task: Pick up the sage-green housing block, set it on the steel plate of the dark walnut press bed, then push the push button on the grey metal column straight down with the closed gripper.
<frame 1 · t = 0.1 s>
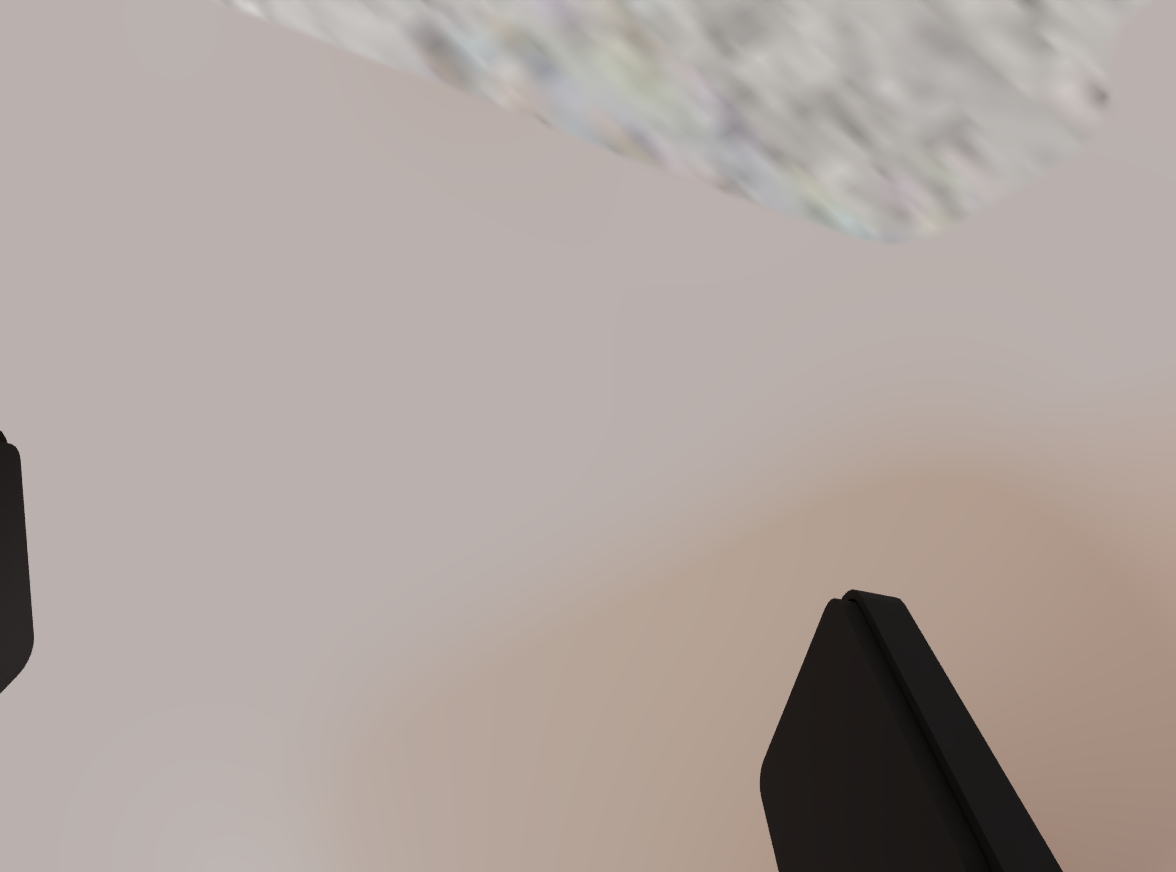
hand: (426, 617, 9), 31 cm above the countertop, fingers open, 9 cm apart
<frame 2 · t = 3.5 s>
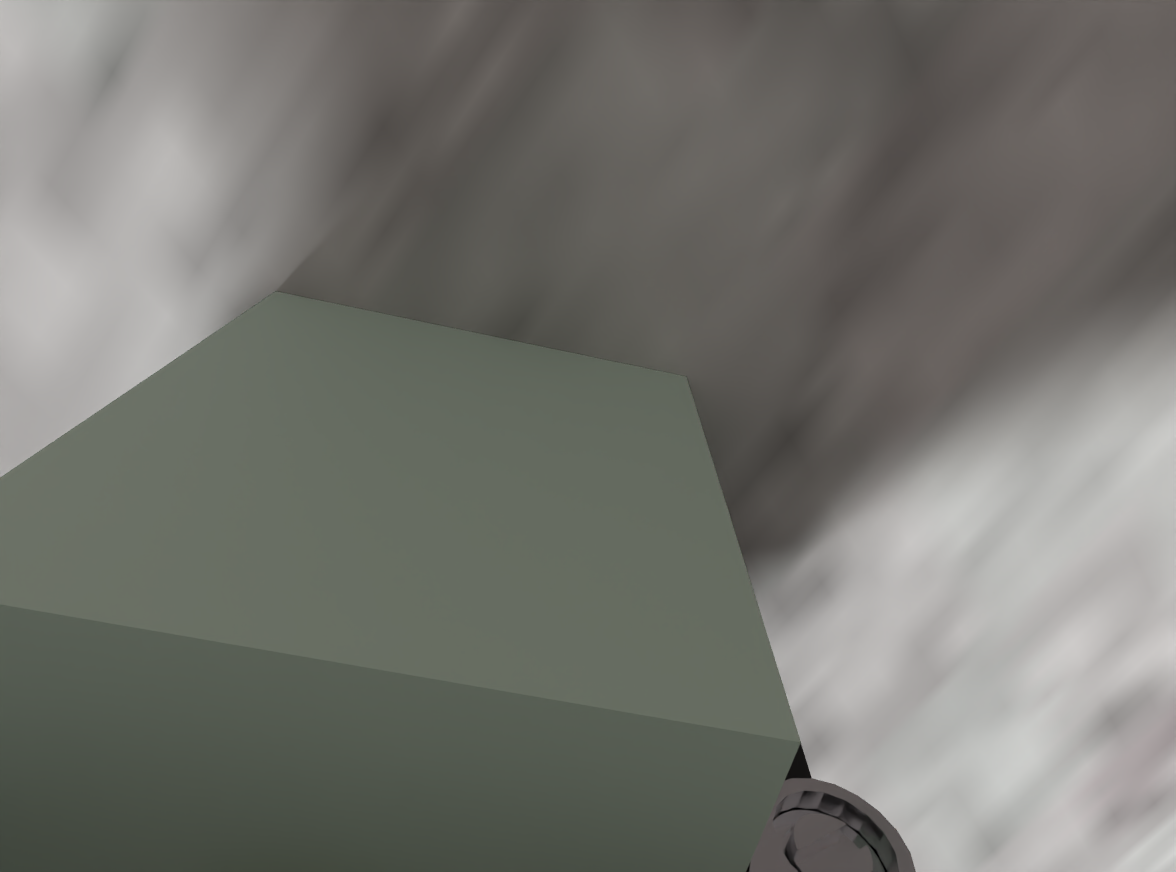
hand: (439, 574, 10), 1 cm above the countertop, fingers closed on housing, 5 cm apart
housing: (449, 544, 11), on the countertop, touching gripper
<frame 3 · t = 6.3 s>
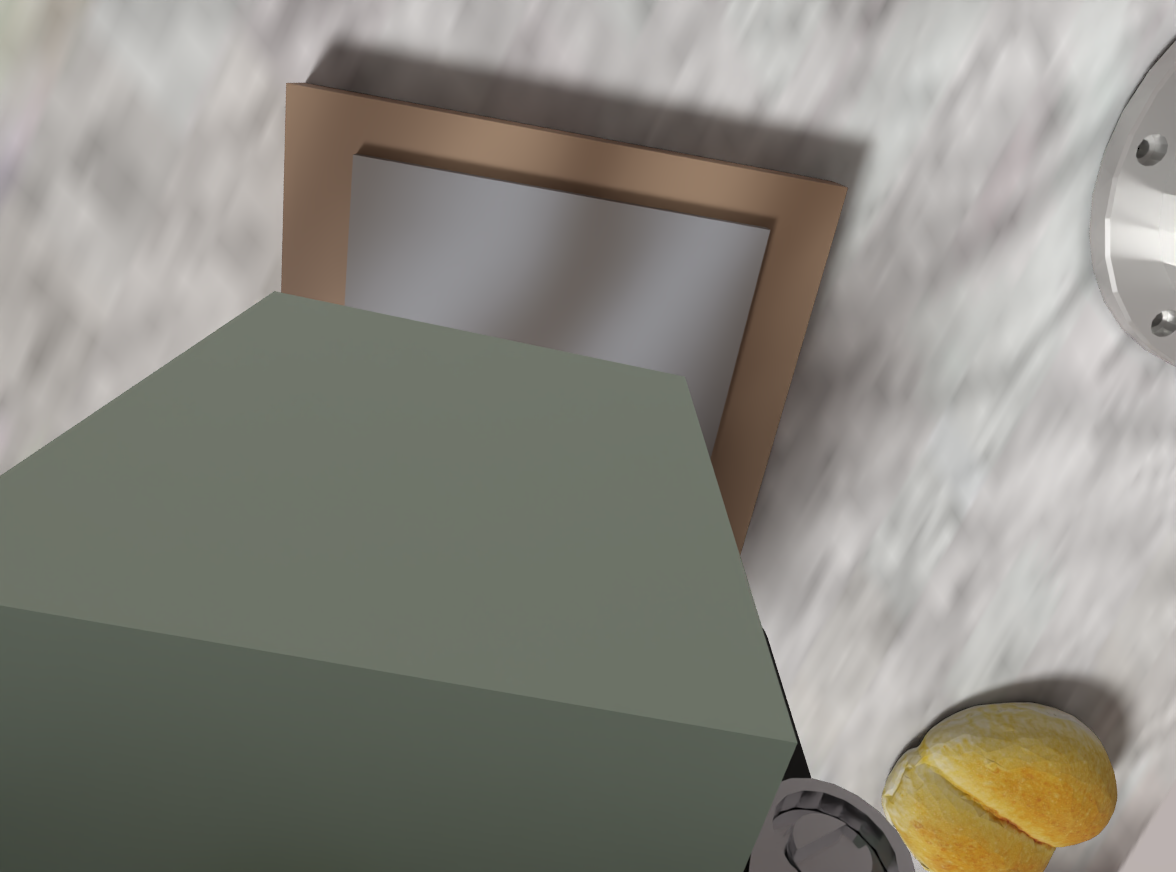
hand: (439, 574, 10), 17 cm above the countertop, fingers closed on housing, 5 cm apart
housing: (448, 544, 11), point 16 cm above the countertop, touching gripper
press bed: (542, 339, 27), on the countertop
bread roll: (979, 769, 35), on the countertop
when the fingers open (4 cm above the countertop, at t = 9.5 s): housing drops 1 cm, resting on press bed.
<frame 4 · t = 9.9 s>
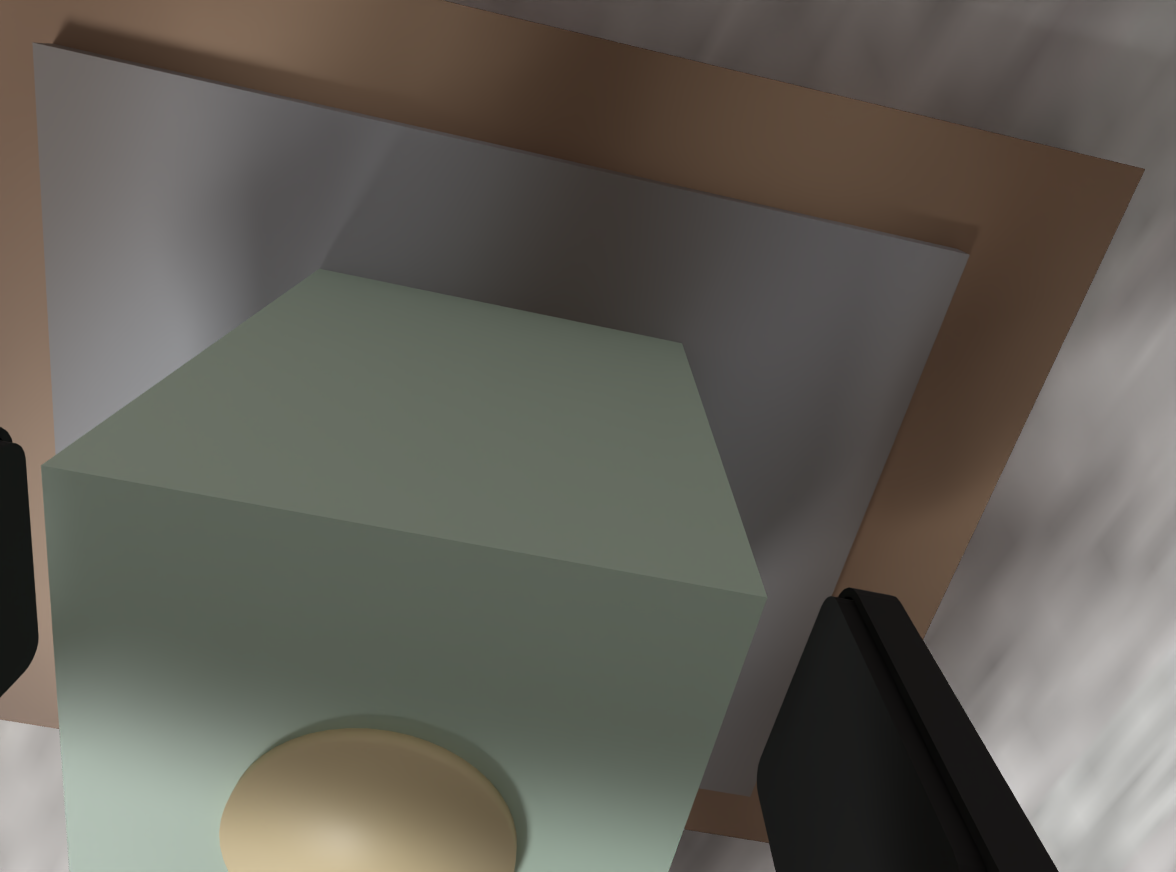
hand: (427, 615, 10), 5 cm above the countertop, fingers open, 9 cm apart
housing: (471, 497, 12), point 2 cm above the countertop, touching press bed
press bed: (480, 441, 14), on the countertop
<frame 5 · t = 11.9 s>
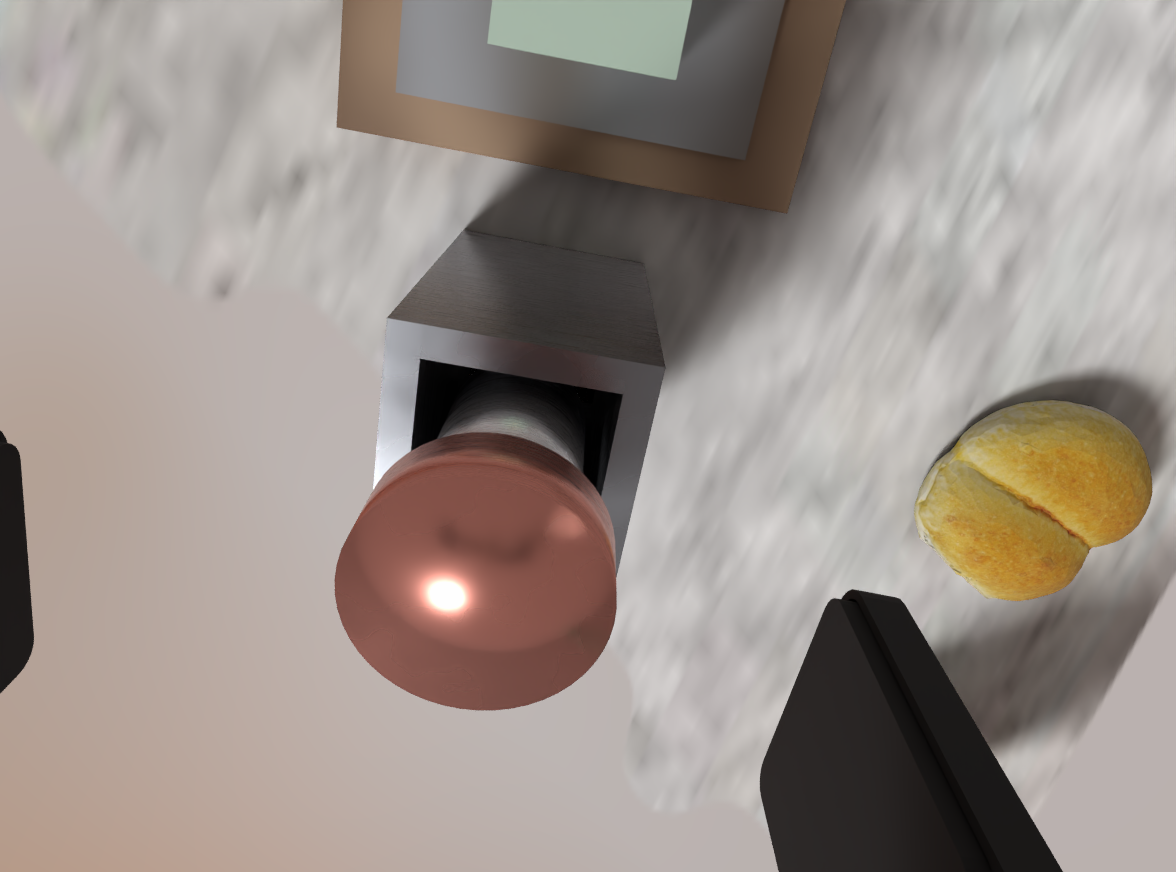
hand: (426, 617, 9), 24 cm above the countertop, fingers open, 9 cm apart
push button: (501, 493, 20), point 14 cm above the countertop, slide at 0.0 cm
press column: (540, 333, 33), on the countertop
bread roll: (1012, 487, 36), on the countertop
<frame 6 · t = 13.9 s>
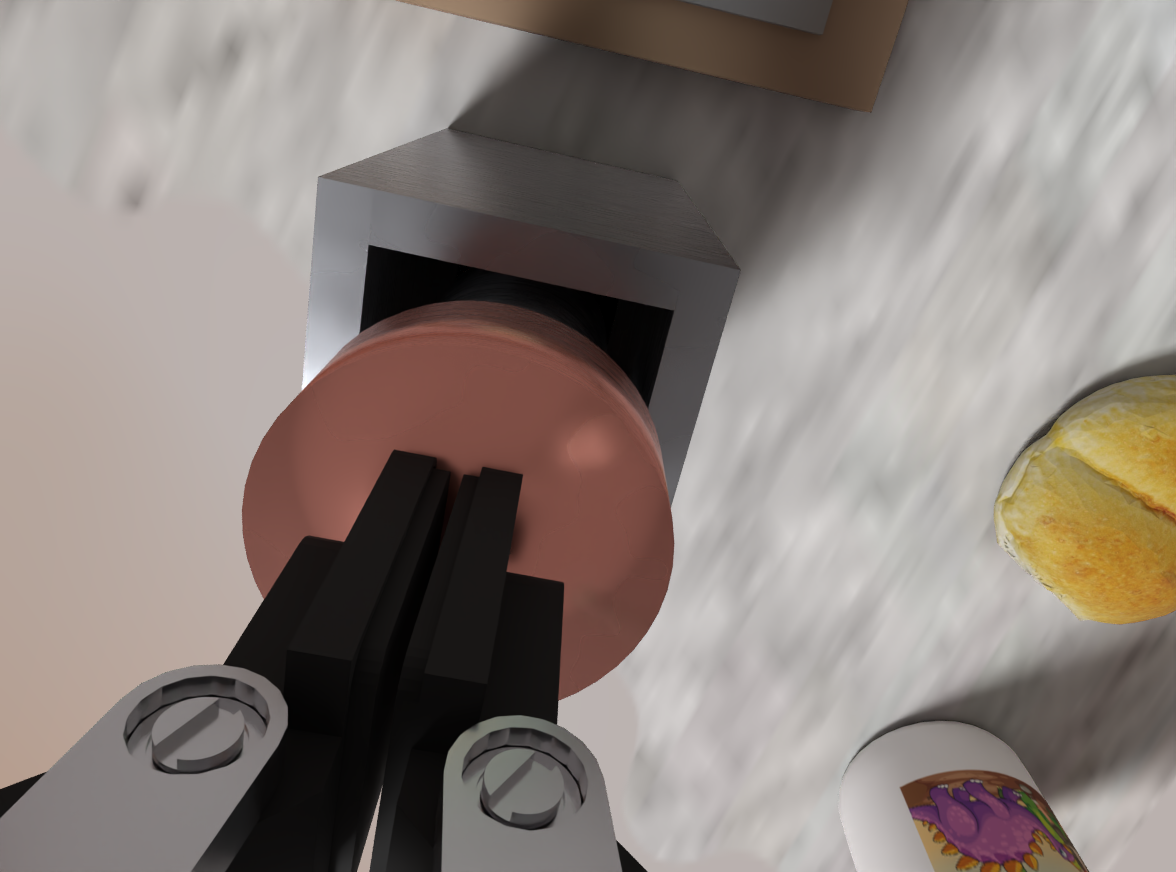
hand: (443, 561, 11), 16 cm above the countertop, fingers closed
push button: (498, 416, 15), point 12 cm above the countertop, slide at 1.6 cm, touching gripper
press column: (541, 269, 26), on the countertop
milk bottle: (923, 780, 35), on the countertop
bread roll: (1112, 484, 29), on the countertop
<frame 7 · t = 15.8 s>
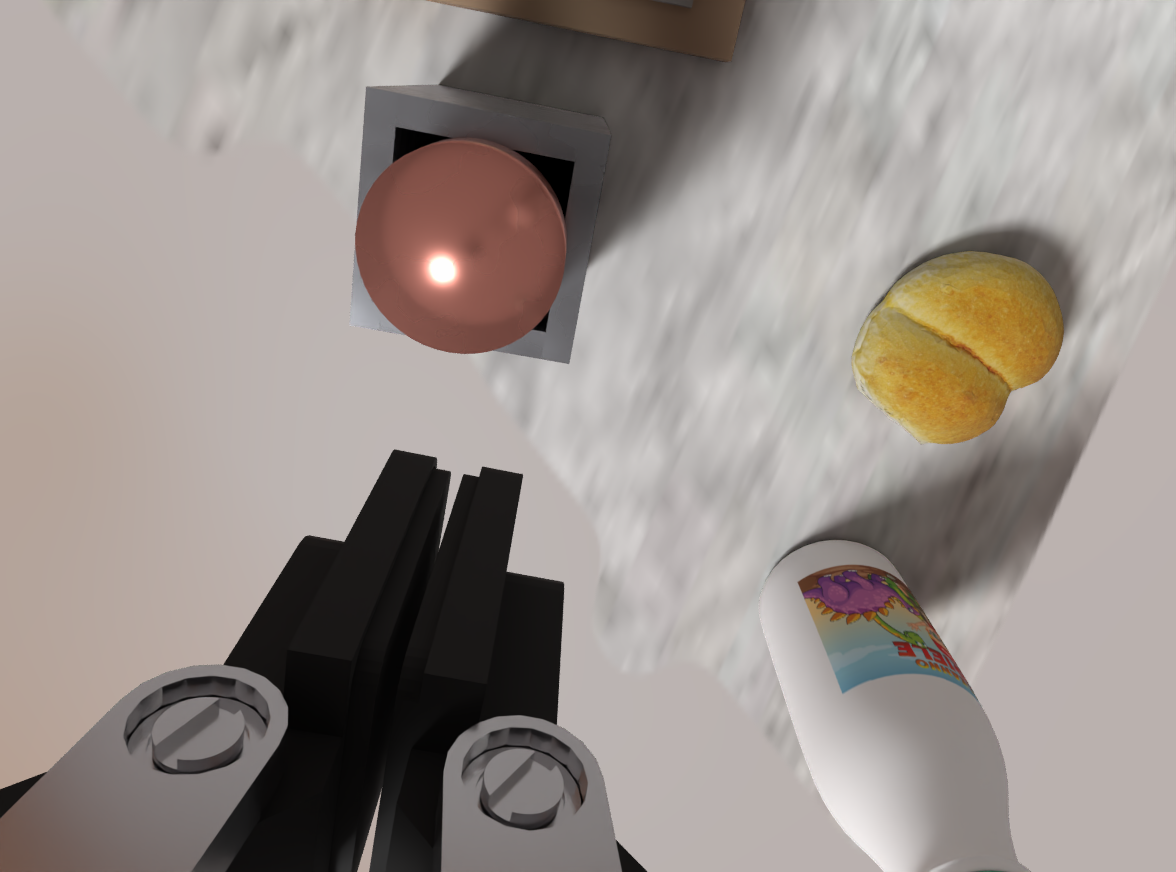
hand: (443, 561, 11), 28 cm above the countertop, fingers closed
push button: (480, 225, 26), point 10 cm above the countertop, slide at 3.1 cm
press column: (509, 186, 35), on the countertop
milk bottle: (826, 594, 44), on the countertop
bread roll: (942, 341, 39), on the countertop
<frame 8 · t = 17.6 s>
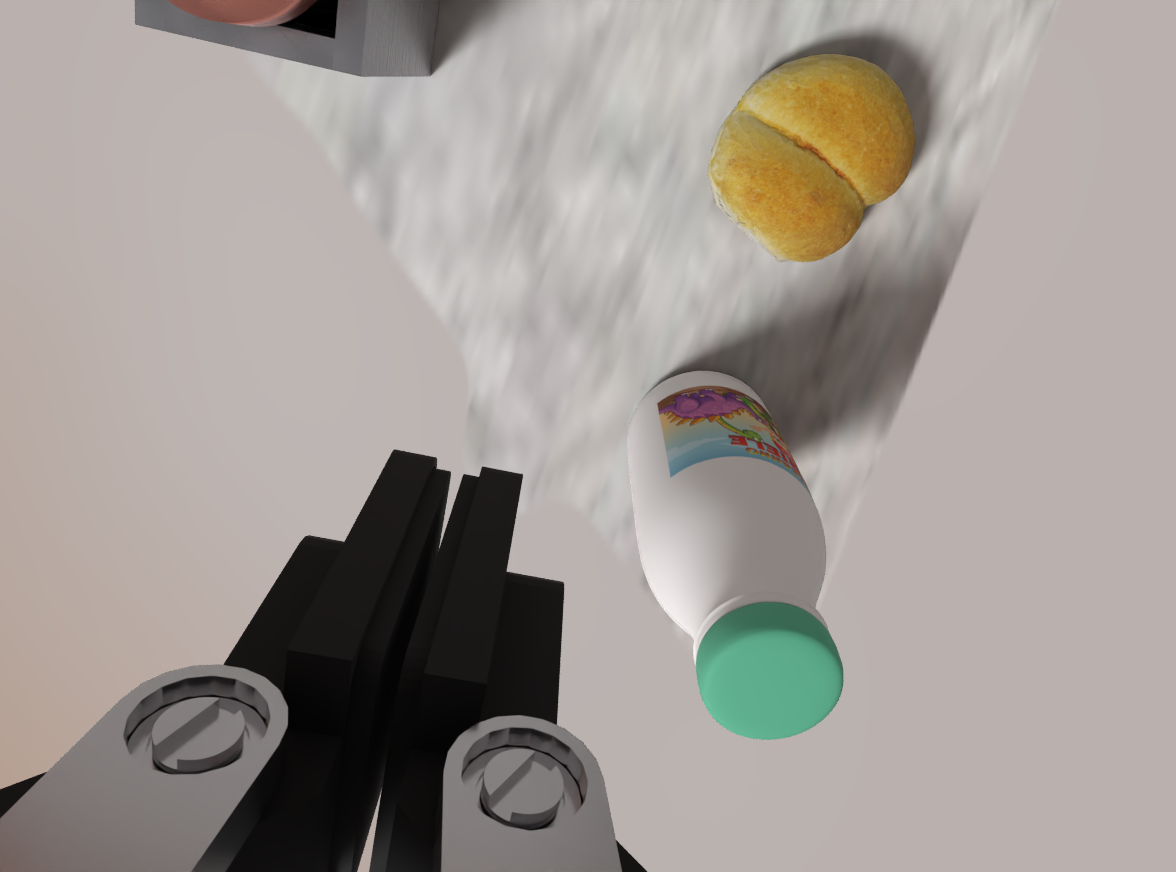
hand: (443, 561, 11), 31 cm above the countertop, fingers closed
milk bottle: (697, 432, 44), on the countertop
bread roll: (802, 159, 39), on the countertop
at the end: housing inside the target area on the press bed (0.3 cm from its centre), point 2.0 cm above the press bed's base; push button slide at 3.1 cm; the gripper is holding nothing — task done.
